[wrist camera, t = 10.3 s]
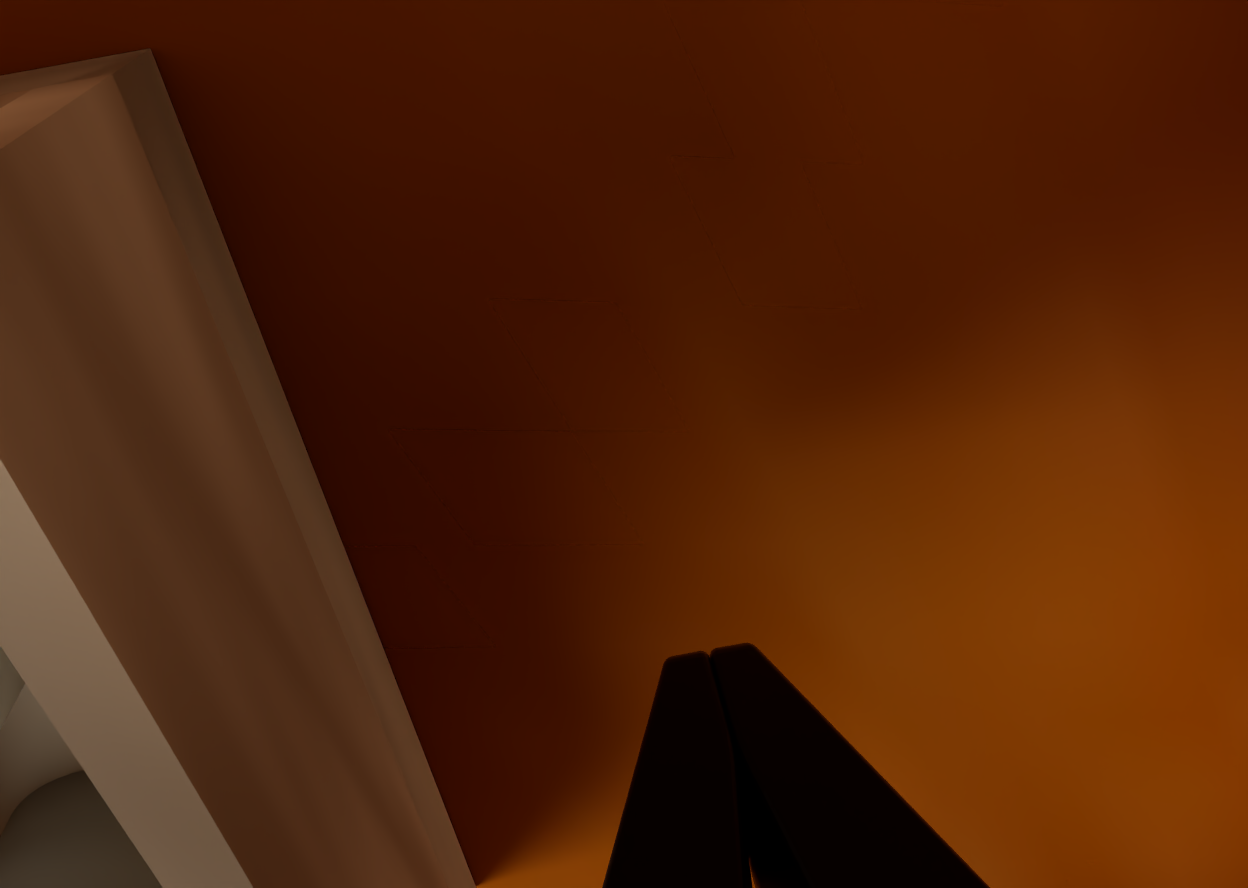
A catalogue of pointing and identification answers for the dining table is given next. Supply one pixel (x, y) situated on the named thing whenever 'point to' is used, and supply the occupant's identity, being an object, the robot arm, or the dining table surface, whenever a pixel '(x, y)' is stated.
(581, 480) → the dining table surface
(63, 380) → the crate with rolls
